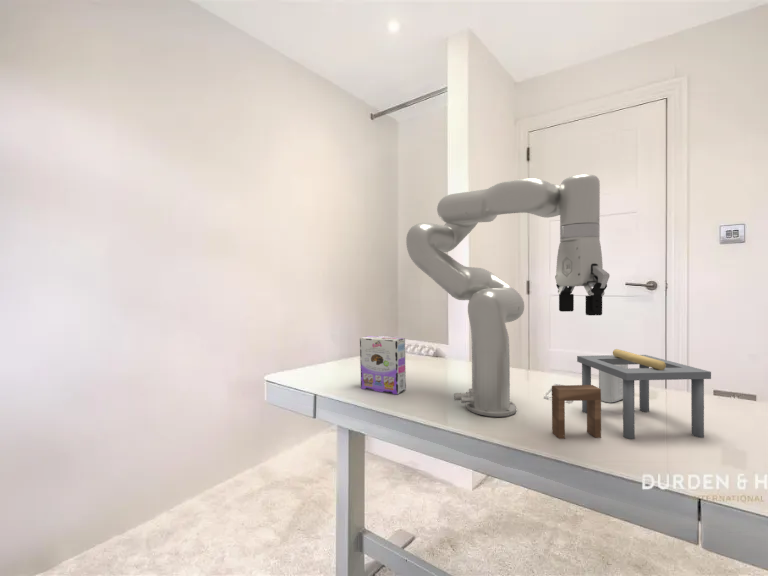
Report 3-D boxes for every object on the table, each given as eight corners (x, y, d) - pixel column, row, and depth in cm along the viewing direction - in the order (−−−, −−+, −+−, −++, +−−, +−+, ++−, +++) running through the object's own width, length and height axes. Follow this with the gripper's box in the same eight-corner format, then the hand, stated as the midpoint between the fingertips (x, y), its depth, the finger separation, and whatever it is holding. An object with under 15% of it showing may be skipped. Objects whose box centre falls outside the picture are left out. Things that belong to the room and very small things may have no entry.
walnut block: (601, 437, 75) (600, 388, 75) (559, 438, 75) (558, 389, 75) (592, 431, 78) (592, 384, 78) (552, 432, 78) (551, 385, 78)
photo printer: (613, 393, 105) (613, 352, 105) (630, 397, 101) (630, 354, 101) (596, 400, 99) (596, 356, 99) (613, 404, 95) (612, 358, 95)
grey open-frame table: (711, 438, 74) (711, 362, 74) (626, 440, 74) (626, 363, 74) (645, 408, 92) (645, 347, 92) (577, 409, 92) (577, 348, 92)
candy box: (406, 390, 110) (406, 337, 110) (397, 395, 105) (396, 340, 105) (370, 384, 118) (369, 334, 118) (359, 388, 113) (359, 337, 113)
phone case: (554, 387, 113) (542, 400, 101) (554, 383, 113) (542, 395, 101) (580, 391, 109) (571, 405, 97) (580, 387, 109) (571, 400, 97)
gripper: (542, 239, 85) (542, 310, 85) (588, 228, 68) (587, 317, 68) (572, 239, 86) (572, 310, 86) (625, 228, 68) (625, 316, 69)
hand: (579, 313), depth 77 cm, fingers open, 9 cm apart
